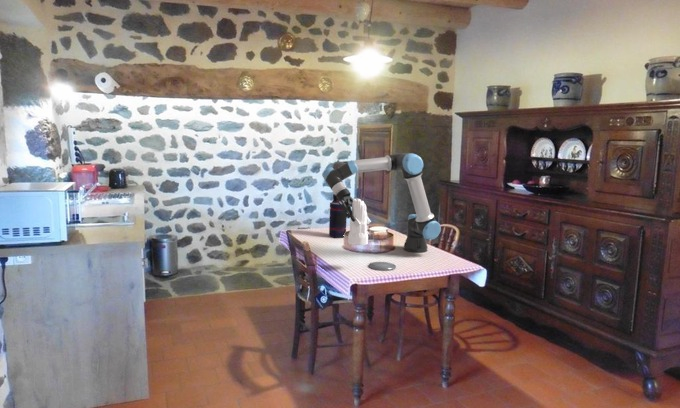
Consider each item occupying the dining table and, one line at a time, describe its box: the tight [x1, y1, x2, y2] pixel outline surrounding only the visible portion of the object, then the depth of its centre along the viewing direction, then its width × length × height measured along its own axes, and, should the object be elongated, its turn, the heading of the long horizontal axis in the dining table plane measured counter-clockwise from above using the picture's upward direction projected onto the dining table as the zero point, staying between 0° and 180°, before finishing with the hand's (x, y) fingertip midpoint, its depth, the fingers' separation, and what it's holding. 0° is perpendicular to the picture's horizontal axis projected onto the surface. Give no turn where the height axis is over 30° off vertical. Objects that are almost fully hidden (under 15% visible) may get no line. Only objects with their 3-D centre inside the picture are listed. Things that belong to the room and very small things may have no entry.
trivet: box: [368, 261, 397, 272], centre depth 269 cm, size 15×15×1 cm
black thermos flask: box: [328, 193, 348, 239], centre depth 341 cm, size 14×12×30 cm
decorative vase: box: [347, 197, 369, 246], centre depth 262 cm, size 11×11×25 cm
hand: (364, 224), depth 261 cm, fingers closed on decorative vase, 9 cm apart
